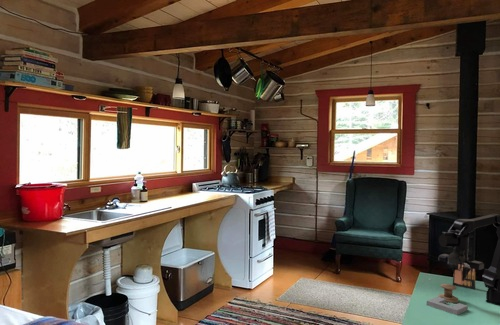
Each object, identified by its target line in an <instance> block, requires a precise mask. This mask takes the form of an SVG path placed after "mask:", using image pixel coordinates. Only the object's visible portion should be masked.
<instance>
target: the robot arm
mask: <svg viewBox="0 0 500 325" xmlns="http://www.w3.org/2000/svg"><path fill="white" fill-rule="evenodd" d="M489 225H493V226H494V227H496V234H497V241H496V246H495V249H494V252H493V257H492V260H491V264H490V266H489V268H485V263H484V262H483V261H478V260H472V261H469V260H470V258H469V257H468V256H469V252H470V249H469V242H470V241H469V240H470V238H471V239H472V238H474V235H472V234H471V233H472V232H474V231H476V229H477V228H481V227H486V226H489ZM438 243H439V244H438V245H440V247H442V248H453V247H454V248H453V249H452V252H450V254H447V253H442V254H440V255H438V258H437V259H438V262H442V263H445V262H447V265H448V266H449V267H450V268H451V270H452V273H453V276H454V277H455V270H457V269H458V266H459V264H460V265H464V267H462V266H461V269H462V268H463V275H462V281H464V280H465V278H466V276H467V275H468V273H469V271H470V270H471V271H472V270H473V269H475V271H476V270H477V271H481V270H483V274H482V276H481V277H482V282H483V283H484V286H485V288H487V290H486V298H485V299H486V300H485V302H487V303H490V304H492V305H498V306H500V214H497V213H491V214H488V215H487V214H486V215H483V216H479V217H478V216H477V217H475V218H470V219H469V218H457V219H455V220H454V222H453V224H452V225H451V226H450V228H449V229H448V230H447V232H446V231H442V234H440V236H439V238H438Z"/></svg>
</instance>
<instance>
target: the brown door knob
mask: <svg viewBox="0 0 500 325" xmlns="http://www.w3.org/2000/svg"><path fill="white" fill-rule="evenodd" d="M440 287H441V288H442V289H443V290H444V291H443V293H440V294H438V295H437V297H441V298H444V299H446V303H448V302H449V304H458V303H459V297H457V296H455V295H454V294H453V292H454V291H456V290H457V287H458V286H454V285H453V284H449V283H441V284H440Z"/></svg>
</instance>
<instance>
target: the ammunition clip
mask: <svg viewBox="0 0 500 325" xmlns="http://www.w3.org/2000/svg"><path fill="white" fill-rule="evenodd" d="M464 266H465V264H459V266H458V269H462V270H463V268H462V267H464ZM454 278H455V277H454V275H453V278H452V285H453V286H456V287H459V288H465V289H469V290H476V269H471V270H470V271H469V273H468V275H467V276H466V278H465V283H464V284H457V283H454Z"/></svg>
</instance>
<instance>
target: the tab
mask: <svg viewBox="0 0 500 325" xmlns="http://www.w3.org/2000/svg"><path fill="white" fill-rule="evenodd" d="M462 275H463V270H462V268H460V269H457V270H455V278H454V283H457V284H464V283H465V280H464V281H462Z"/></svg>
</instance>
